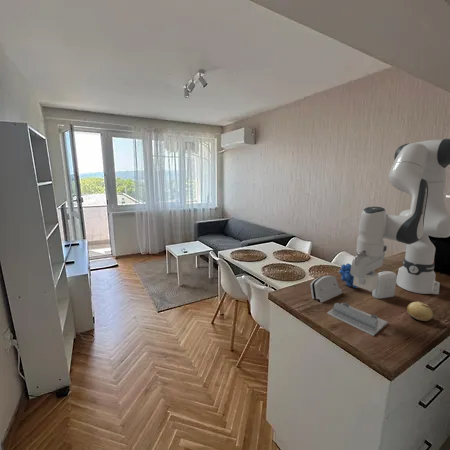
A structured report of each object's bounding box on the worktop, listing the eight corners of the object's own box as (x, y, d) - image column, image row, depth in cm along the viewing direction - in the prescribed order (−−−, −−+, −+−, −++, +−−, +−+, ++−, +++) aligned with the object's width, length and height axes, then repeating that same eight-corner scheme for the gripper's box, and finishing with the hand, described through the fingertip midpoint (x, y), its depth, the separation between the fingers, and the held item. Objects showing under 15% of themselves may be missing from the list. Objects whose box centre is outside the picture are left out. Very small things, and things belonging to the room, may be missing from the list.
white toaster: (321, 303, 110) (315, 281, 111) (312, 302, 114) (307, 280, 115) (342, 292, 119) (337, 272, 120) (334, 292, 123) (329, 272, 124)
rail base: (342, 304, 109) (342, 296, 108) (387, 323, 94) (388, 314, 94) (327, 313, 102) (327, 305, 101) (373, 336, 87) (374, 326, 87)
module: (358, 281, 102) (360, 267, 101) (376, 287, 97) (378, 273, 96) (353, 285, 100) (354, 270, 98) (371, 291, 94) (373, 276, 93)
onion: (410, 321, 95) (413, 305, 94) (403, 311, 103) (405, 295, 101) (435, 325, 93) (438, 308, 91) (426, 314, 100) (428, 298, 99)
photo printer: (388, 292, 118) (391, 268, 116) (395, 297, 114) (399, 272, 112) (370, 295, 116) (372, 271, 113) (377, 299, 112) (380, 274, 109)
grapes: (333, 284, 128) (335, 262, 125) (341, 281, 132) (343, 260, 129) (355, 293, 118) (358, 269, 116) (363, 289, 122) (365, 266, 120)
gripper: (365, 256, 86) (361, 292, 89) (389, 245, 98) (384, 277, 101) (347, 251, 91) (344, 285, 94) (372, 242, 103) (368, 272, 106)
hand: (365, 281), depth 98 cm, fingers closed on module, 5 cm apart
